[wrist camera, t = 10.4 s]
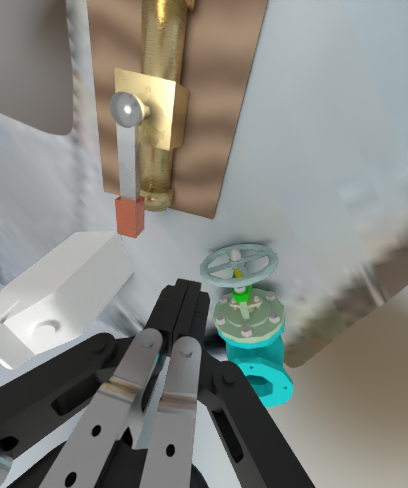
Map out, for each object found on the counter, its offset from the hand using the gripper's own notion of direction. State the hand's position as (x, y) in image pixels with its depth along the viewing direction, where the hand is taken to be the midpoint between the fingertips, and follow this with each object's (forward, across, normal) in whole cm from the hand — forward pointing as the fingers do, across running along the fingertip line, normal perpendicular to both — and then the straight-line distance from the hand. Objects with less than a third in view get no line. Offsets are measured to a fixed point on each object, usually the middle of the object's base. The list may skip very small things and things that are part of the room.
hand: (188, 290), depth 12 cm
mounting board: (+27, +10, -9) cm, 30 cm away
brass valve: (+27, +10, -9) cm, 30 cm away
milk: (+27, +26, +22) cm, 43 cm away
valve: (+27, -10, +24) cm, 38 cm away
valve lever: (+15, +11, -2) cm, 19 cm away
